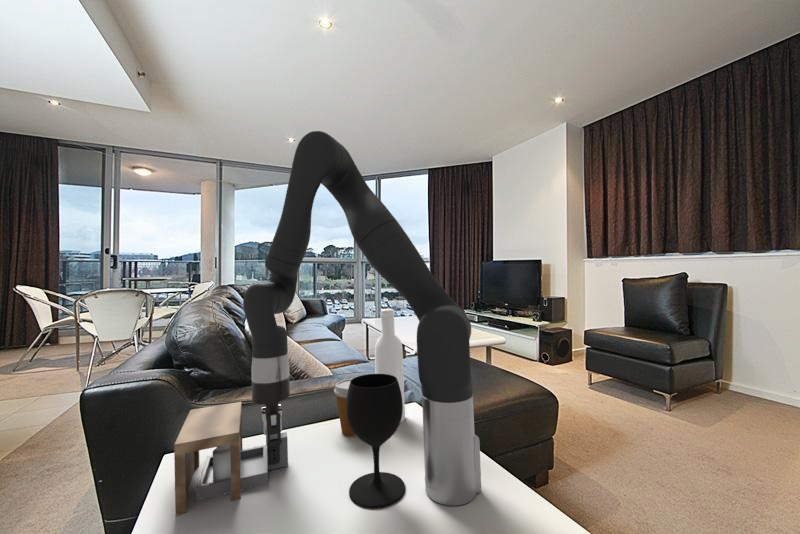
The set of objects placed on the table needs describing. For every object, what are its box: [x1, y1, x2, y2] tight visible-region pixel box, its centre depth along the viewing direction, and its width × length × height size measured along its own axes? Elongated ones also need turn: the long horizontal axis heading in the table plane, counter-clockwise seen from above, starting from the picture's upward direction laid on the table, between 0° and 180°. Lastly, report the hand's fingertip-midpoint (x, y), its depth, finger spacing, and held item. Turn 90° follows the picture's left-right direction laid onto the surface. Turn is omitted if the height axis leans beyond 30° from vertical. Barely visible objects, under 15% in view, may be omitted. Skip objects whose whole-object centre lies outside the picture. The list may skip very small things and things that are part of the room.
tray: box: [195, 431, 289, 501], centre depth 71 cm, size 16×12×7 cm
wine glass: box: [346, 373, 406, 510], centre depth 64 cm, size 10×10×20 cm
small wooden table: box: [173, 401, 243, 516], centre depth 68 cm, size 10×17×12 cm, turn 23°
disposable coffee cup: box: [333, 378, 357, 437], centre depth 89 cm, size 10×10×12 cm
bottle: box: [374, 308, 406, 424], centre depth 95 cm, size 8×8×30 cm
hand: (272, 453), depth 73 cm, fingers open, 8 cm apart
